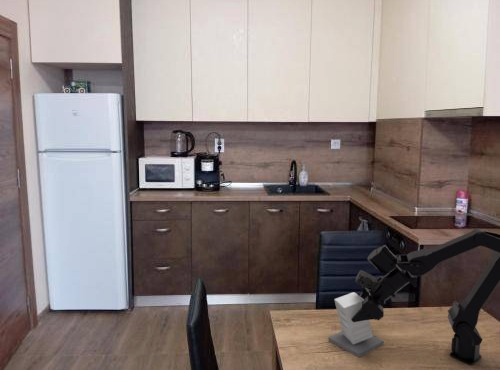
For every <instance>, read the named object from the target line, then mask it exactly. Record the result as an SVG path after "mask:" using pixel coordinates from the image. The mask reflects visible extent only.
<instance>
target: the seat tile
mask: <svg viewBox="0 0 500 370" xmlns="http://www.w3.org/2000/svg"><path fill="white" fill-rule="evenodd" d="M328 342H330V343H333V344H334V345H336V346H338V347H340V348H341V349H343V350H345V351H347V352H348V353H351V354H353V355H354V356H356V357H358V358H361V357H363V356H365V355H366V354H368V353H370V352H373V350H376V349H377V348H380V347H381V346H383V345H384V343H385V340H383V339H382V338H379V337H377V336H375V335H373V337H371V338H368V339H366V340H363V341H361V342H358V343H356V344H352V343H351V342H350V341H349V340H348V339H347V338H346V337H345V336H344V335H343V334H342V330H340V331H339V332H337V333H334V334H333V335H331V336H328Z"/></svg>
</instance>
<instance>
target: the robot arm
mask: <svg viewBox="0 0 500 370" xmlns="http://www.w3.org/2000/svg"><path fill="white" fill-rule="evenodd" d="M479 247H484V248H487V249H489V250H492V252H491V257H490V258H491V259H490V261H489V263H488V264H487V265H486V267H485V268H484V270H483V272H482V273H481V274H480V276H479V278H478V280H477V281H476V283H475V284H474V285H473V287H472V289H471V290H470V291H469V293H468V295H467V296H466V297H465V299H463V300H462V301H461V302H459V303H458V301H456V300H454V301H453V303H452V306H451V307H450V308H449V309H447V313H448V314H447V320H448V323H449V325H450V327H451V330H452V331H453V332H454V333H453V337H452V338H451V344H450V345H451V348H450V351H451V352H449V356H450V357H453V358H455V359H457V360H459V361H461V362H464V363H466V364H468V365H471V366H472V365H474V364H475V363H477V362H478V361H479V360H481V359H482V358H483V357H482V355H480V348H481V343H482V341H483V338H482V336H481V334H480V333H479V331H478V329H477V324H478V322H479V321H478V320H479V316H480V312H481V310H482V309H483V307H484V305H485V304H486V302H487V301H488V299H489V298H490V296H492V293H493V292H494V291H495V289H496V287H497V286H498V285H499V283H500V234H499V233H498V232H492V231H487V230H483V229H481V228H474V229H473V230H470V232H467V233H465V234H462V235H459V236H457V237H455V238H452V239H451V240H448V241H446V242H444V243H440V244H439V245H436V246H433V247H431V248H422V249H418V250H415V251H410V252H409V253H408V254H394V253H393V252H392V251H391V250H390V249H389V248H388V246H387V245H386V244H383V245H382V246H379V247H378V248H375V249H374V250H373V251H371V252H370V253H369V255H368V257H367V261H368V262H369V263H370V264H371V265H372V266H373V267H375V269H376V270H377V271H378V272H379V273H380V274H386V275H383V276H382V275H381V276H380V275H379V276H378V277H376V276H373V275H372V274H370V273H368V272H367V271H364V270H362V269H360V270H359V272H358V273H357V275H356V277H355V284H357V285H358V286H362V287H361V293H360V294H359V296H360V297H361V298H363V299H364V301H362V308H361V309H360V310H359V311H358V312H357V313H356V314H355V315H354V316H353V318H352V319H351V320H352V321H353V322H358V321H364V320H370V321H372V320H375V321H380V320H382V318H384V315H385V314H384V312H385V311H384V306H385V305H386V301H387V300H389V299H390V298H391V297H392V298H393V299H394V298H395V297H396V296H397V295H396V293H398V292H399V291H401V290H402V289H403V288H405V286H407V285H408V284H411V285H412V286H413V288H417V282H418V281H417V280H418V277H422V276H424V275H426V274H427V273H429V272H431V271H432V270H433V269H435V268H436V267H437V266H439V264H441V263H442V262H444V261H447V260H449V259H452V258H454V257H457V256H459V255H462V254H464V253H466V252H468V251H471V250H473V249H476V248H479Z"/></svg>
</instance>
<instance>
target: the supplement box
mask: <svg viewBox="0 0 500 370" xmlns="http://www.w3.org/2000/svg"><path fill="white" fill-rule="evenodd" d="M362 301H364V299H363V298H361V297H360V294H358V293H356V292H354V291H353V292H349V293H348V294H345V295H342V296H339V297H336V298H334V303H335V308H336V313H337V315H338V316H337V317H338V319H339V325H340V329H341V330H340V331H342V334H343V335H344V336H345V337H346V338H347V339H348V340H349V341H350V342H351V343H352V344H356V343H358V342H361V341H363V340H366V339H368V338H371V337H373V336H374V334H373V330H372V325H371V320H364V321H358V322H353V321H352V320H351V319H352V318H353V316H354V315H355V314H356V313H357V312H358V311H359V310H360V309H361V308H362Z"/></svg>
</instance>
